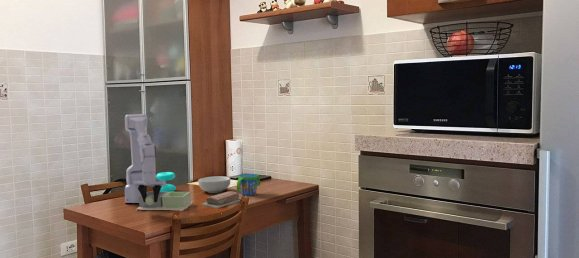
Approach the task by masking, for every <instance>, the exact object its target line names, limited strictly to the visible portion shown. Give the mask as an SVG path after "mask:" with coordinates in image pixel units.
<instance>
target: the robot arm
mask: <svg viewBox="0 0 579 258" xmlns="http://www.w3.org/2000/svg"><path fill="white" fill-rule="evenodd" d="M148 125H149V124H148V115H147V114H146V113H141V114H140V113H139V114H126V115H125V116H124V129H125V131H126V132H127V133H129V140H130V153H131V155H130V156H131V157H130V158H131V165H129V167H127V168H126V170H125V172H126V174H125V179H126V185H125V187H124V203H125V202H127V203H139V204H138V205H140V199H139V196H141V195H142V198H143V202H146V201H145V199H146V197H147V192H148V191H147V189H148V187H152V192H153V193H154V202H157V201H158V195H159V192H160V190H161V188H162V186H166V184H167V181H161V180H157V178H156V175H157V174H156V173H157V170H156V169H157V168H156V157H157V151H158V150H157V146H156V144H155V143H153V141H152V139H151V136H150V135H149V134H148V133H147V129H146V128H147V126H148Z"/></svg>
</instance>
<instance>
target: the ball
mask: <svg viewBox="0 0 579 258" xmlns="http://www.w3.org/2000/svg"><path fill="white" fill-rule="evenodd" d="M145 201H146V203H147V204H148V205H153V204H154V203H155V202H154V196H152V195H149V196H147V197H146V199H145Z"/></svg>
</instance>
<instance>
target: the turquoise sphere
mask: <svg viewBox="0 0 579 258" xmlns="http://www.w3.org/2000/svg"><path fill="white" fill-rule="evenodd" d="M174 178H176V173H174V172H172V171H166V172H159V173H157V174H156V180H157V181H166V182H167V181H168V182H169V181H171V180H173V179H174ZM176 188H177V187H176V186H175V185H174V184H171V183H166V186H162V188H161V190H160V192H168V193H169V192H176Z"/></svg>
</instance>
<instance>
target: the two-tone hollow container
mask: <svg viewBox="0 0 579 258" xmlns="http://www.w3.org/2000/svg"><path fill="white" fill-rule="evenodd" d="M149 195H152V196H154V193H153V191H147V196H149ZM139 199H140V204H139V206H138V207H136V210H137V209H140V210H179V211H178V212H183V210H184V209H185V210H186V209H187V208H189V207H190V206H191V205H193V201H191V200H192V198H191V191H173V192H169V193H168V192H159V195H158V201H157V202H155V203H154V204H153V205H148V204H147V203H146V202H143V198H142V195H141V196H139ZM188 206H189V207H188ZM185 210H184V211H185Z"/></svg>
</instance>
